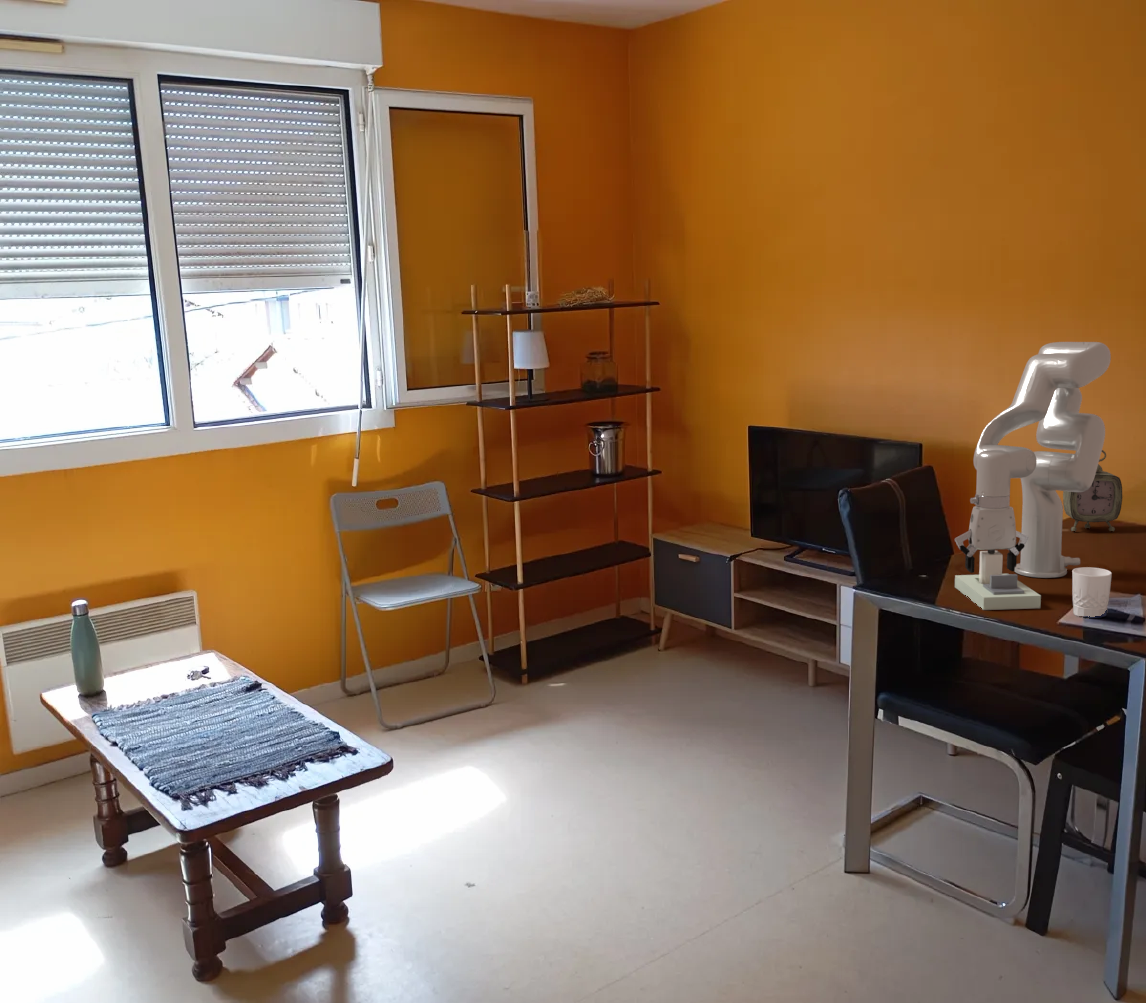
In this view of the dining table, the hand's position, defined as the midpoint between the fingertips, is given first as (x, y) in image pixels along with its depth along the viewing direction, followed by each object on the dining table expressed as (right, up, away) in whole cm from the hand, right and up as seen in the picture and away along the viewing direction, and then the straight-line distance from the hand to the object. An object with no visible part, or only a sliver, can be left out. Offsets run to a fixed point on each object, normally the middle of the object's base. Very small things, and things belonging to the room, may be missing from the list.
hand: (990, 570), depth 253 cm
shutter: (0, -4, -8) cm, 9 cm away
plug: (0, -5, +1) cm, 6 cm away
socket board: (0, -6, -3) cm, 7 cm away
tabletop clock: (+54, +8, +61) cm, 82 cm away
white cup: (+15, -9, -19) cm, 26 cm away
